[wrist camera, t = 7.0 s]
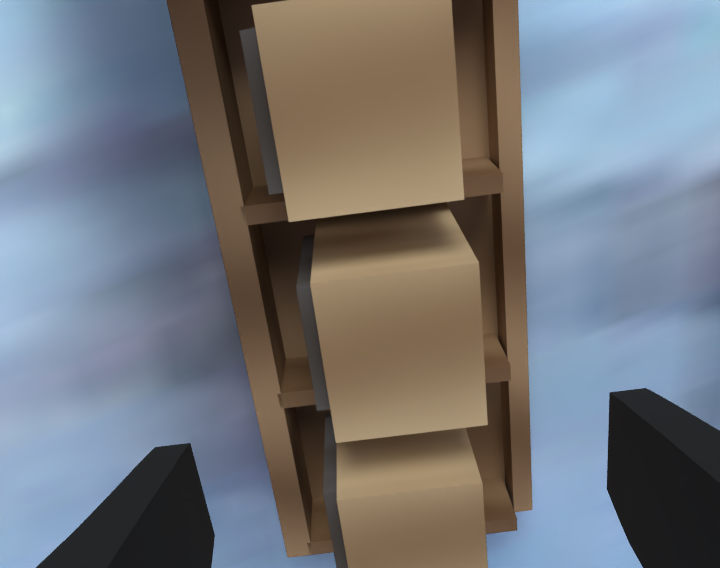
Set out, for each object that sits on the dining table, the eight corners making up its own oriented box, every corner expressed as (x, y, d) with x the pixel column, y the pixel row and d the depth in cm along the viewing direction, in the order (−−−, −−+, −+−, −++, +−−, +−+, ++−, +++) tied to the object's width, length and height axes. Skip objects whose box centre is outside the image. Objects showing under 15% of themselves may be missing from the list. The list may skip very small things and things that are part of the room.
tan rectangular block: (450, 320, 20) (487, 425, 15) (323, 335, 20) (318, 445, 15) (440, 193, 19) (479, 263, 14) (303, 210, 19) (290, 285, 14)
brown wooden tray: (515, 466, 24) (576, 622, 18) (293, 493, 24) (278, 657, 18) (494, -67, 17) (579, -105, 11) (188, -25, 17) (109, -41, 11)
